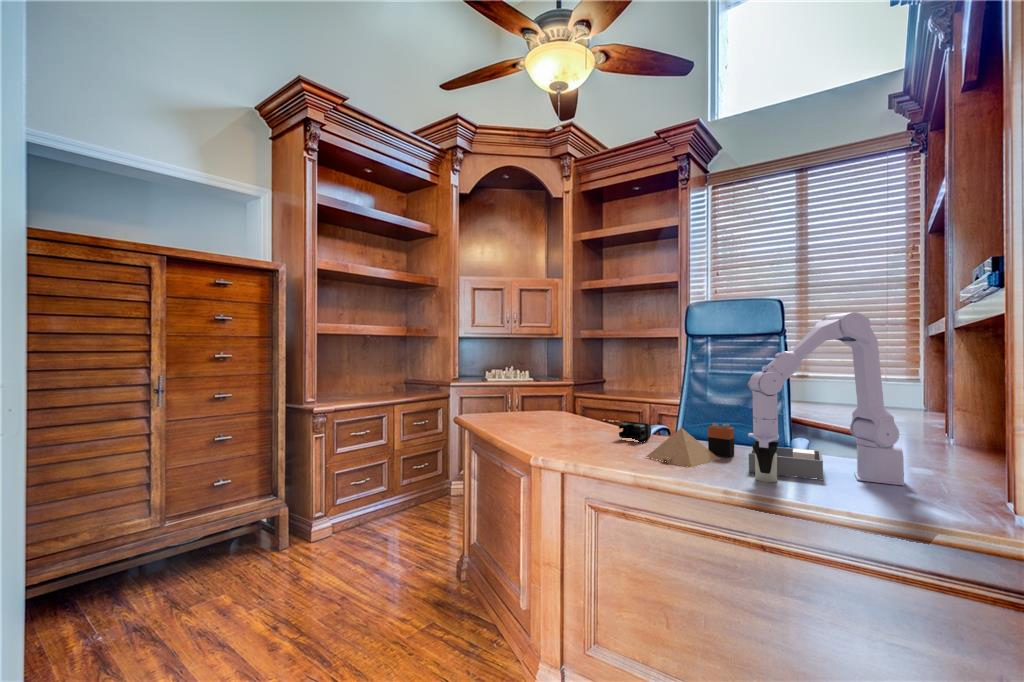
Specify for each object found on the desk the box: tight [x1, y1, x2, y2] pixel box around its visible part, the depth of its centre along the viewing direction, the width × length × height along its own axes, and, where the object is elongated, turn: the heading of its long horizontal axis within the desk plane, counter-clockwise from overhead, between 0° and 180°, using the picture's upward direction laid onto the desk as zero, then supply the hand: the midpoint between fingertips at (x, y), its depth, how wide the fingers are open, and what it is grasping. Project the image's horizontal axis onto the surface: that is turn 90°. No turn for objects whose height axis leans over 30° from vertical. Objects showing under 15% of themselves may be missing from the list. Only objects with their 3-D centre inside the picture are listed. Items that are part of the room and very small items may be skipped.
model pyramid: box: [645, 427, 720, 468], centre depth 147 cm, size 17×17×10 cm
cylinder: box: [754, 453, 778, 483], centre depth 123 cm, size 5×5×7 cm
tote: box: [748, 446, 824, 480], centre depth 132 cm, size 17×13×5 cm
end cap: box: [618, 420, 652, 443], centre depth 176 cm, size 10×7×7 cm
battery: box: [707, 422, 735, 459], centre depth 151 cm, size 4×7×10 cm, turn 44°
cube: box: [793, 448, 815, 460], centre depth 130 cm, size 5×5×5 cm
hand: (766, 470), depth 123 cm, fingers closed on cylinder, 5 cm apart
